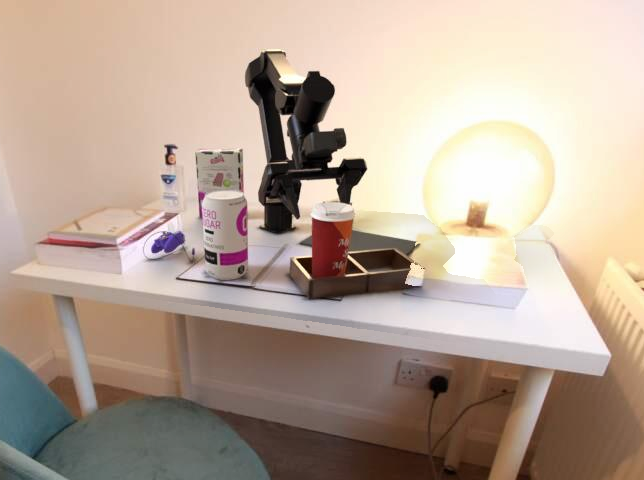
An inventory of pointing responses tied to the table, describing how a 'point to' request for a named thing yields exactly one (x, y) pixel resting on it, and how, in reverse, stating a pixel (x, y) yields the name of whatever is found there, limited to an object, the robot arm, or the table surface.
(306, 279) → the divided tray
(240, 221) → the supplement can
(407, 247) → the desk mat
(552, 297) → the table surface
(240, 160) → the candy bar box
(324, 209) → the paper cup
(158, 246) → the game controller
